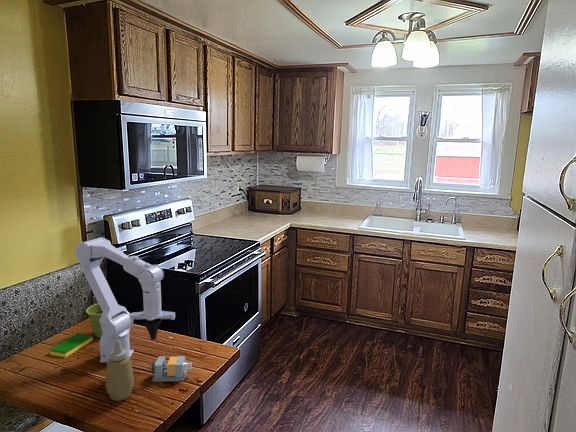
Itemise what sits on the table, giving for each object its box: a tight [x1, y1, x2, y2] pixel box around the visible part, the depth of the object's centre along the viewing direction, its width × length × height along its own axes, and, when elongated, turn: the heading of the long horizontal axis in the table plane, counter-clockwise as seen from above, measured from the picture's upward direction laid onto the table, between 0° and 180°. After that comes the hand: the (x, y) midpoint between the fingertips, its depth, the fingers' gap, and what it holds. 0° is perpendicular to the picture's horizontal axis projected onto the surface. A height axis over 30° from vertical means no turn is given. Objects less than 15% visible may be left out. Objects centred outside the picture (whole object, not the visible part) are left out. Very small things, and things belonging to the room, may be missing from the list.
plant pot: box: [85, 302, 117, 339], centre depth 158 cm, size 12×12×11 cm
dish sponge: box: [49, 332, 94, 358], centre depth 149 cm, size 7×14×2 cm, turn 165°
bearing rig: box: [152, 355, 188, 383], centre depth 131 cm, size 10×6×6 cm, turn 95°
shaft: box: [151, 360, 193, 373], centre depth 131 cm, size 12×3×3 cm, turn 95°
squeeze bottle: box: [105, 340, 135, 402], centre depth 119 cm, size 8×8×18 cm
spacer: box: [167, 356, 178, 376], centre depth 131 cm, size 3×5×4 cm, turn 5°
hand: (153, 338), depth 136 cm, fingers closed
